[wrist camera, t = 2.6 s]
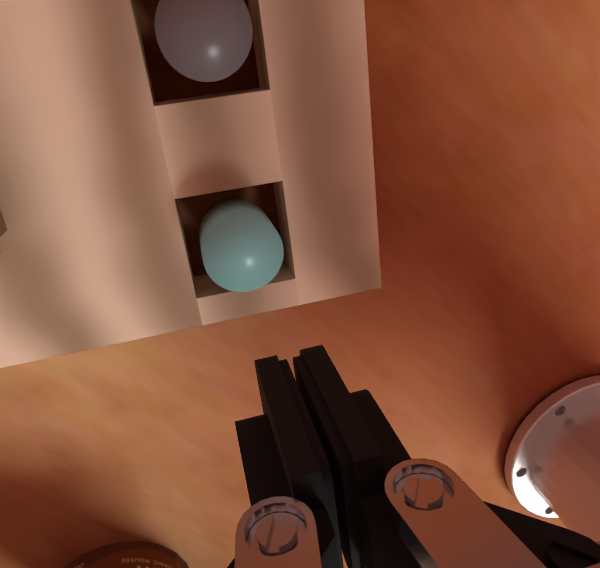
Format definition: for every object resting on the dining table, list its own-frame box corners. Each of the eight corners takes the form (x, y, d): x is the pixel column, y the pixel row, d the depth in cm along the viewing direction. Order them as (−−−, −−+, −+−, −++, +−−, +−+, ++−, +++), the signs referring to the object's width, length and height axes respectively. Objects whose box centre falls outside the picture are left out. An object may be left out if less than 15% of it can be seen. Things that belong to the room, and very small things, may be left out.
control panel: (315, -362, 20) (338, -433, 17) (362, 268, 30) (382, 288, 28) (-440, -362, 16) (-569, -453, 13) (-86, 358, 27) (-116, 393, 24)
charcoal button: (235, -19, 22) (244, -31, 19) (249, 74, 23) (259, 75, 20) (147, -10, 21) (144, -20, 18) (167, 85, 23) (166, 87, 20)
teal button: (266, 193, 25) (277, 208, 23) (276, 261, 27) (288, 283, 24) (192, 206, 25) (194, 223, 22) (206, 275, 26) (210, 299, 24)
